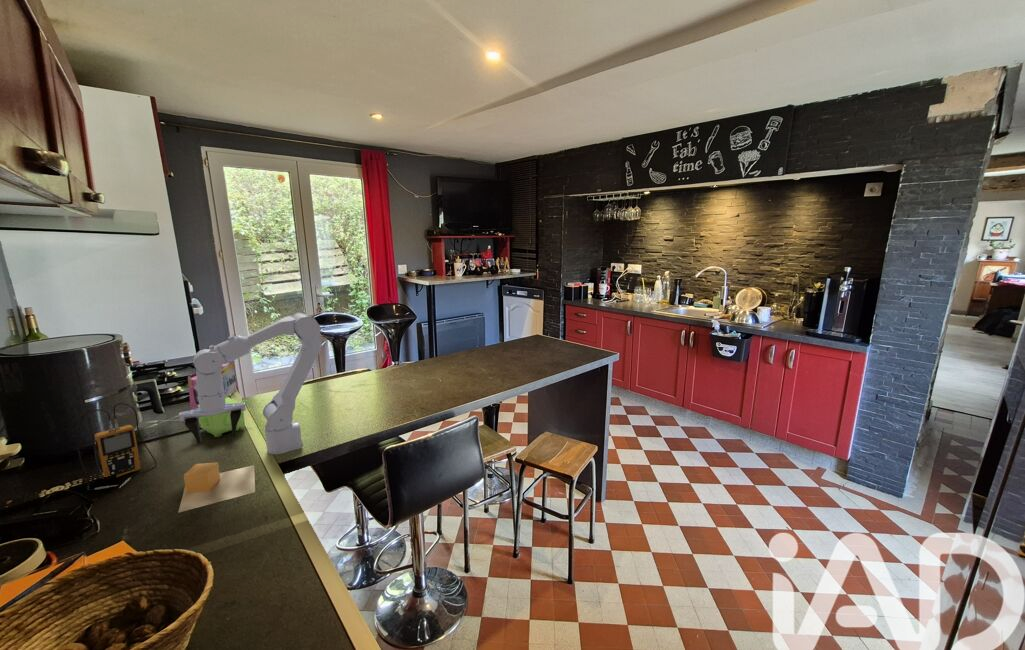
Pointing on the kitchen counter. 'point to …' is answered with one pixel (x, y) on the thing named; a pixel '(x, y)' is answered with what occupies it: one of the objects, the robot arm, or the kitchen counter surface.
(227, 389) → the gum box
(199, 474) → the tilted amber cube
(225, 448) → the kitchen counter surface
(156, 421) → the kitchen counter surface
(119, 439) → the multimeter
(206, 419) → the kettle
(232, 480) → the board
